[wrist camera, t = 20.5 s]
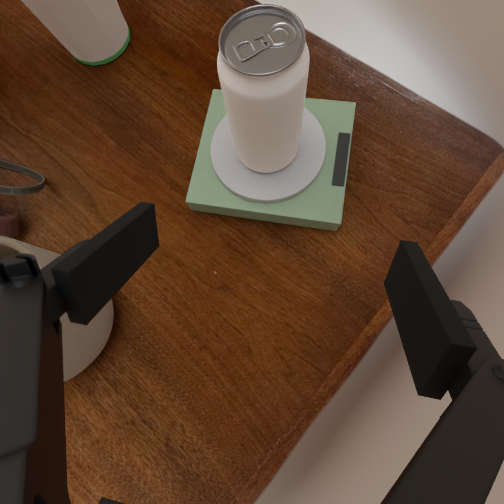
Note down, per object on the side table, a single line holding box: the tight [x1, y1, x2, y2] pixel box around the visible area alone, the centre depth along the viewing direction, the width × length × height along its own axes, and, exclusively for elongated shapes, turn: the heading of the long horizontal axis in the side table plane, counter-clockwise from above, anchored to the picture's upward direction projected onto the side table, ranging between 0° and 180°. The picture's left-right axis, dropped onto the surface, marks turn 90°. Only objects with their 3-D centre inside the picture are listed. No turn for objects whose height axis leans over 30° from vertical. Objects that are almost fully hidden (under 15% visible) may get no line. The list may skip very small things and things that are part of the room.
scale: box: [185, 89, 356, 231], centre depth 32 cm, size 16×14×3 cm
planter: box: [0, 236, 114, 382], centre depth 26 cm, size 12×12×11 cm
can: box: [217, 4, 309, 173], centre depth 25 cm, size 6×6×12 cm
